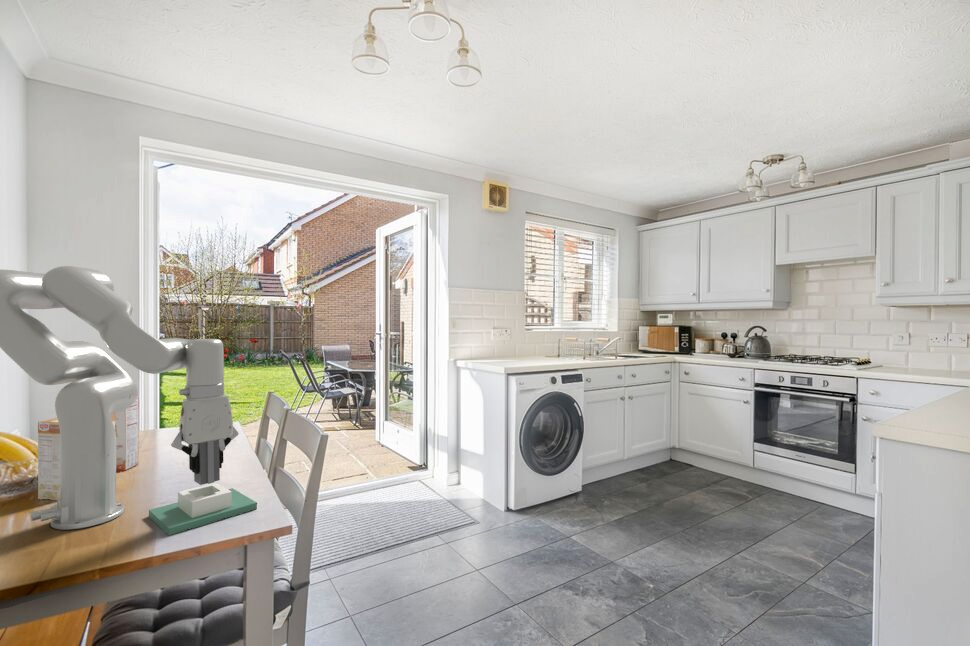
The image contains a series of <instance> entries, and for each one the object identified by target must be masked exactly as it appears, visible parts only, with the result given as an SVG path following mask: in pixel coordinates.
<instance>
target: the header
mask: <svg viewBox="0 0 970 646" xmlns="http://www.w3.org/2000/svg"><path fill="white" fill-rule="evenodd" d="M228 489H229V488H227V487H225V486H223V485H222V484H220V483H218V482H214V483H210V484H208V483H207V484H203V485H200V486H196V487H192V488H189V489H187V488H186V489H185V490H180V491H177V502H178V507H179V508H180V509H181V510H183V511H184V512H185V513H186V514H188V515H189V516H190V517H191V518H194V517H197V516H201V515H204V514H208V513H211V512H215V511H218V510H222V509H225V508H229V507H232V492H231V491H230V490H228Z"/></svg>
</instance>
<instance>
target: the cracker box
mask: <svg viewBox="0 0 970 646" xmlns="http://www.w3.org/2000/svg"><path fill="white" fill-rule="evenodd" d="M139 401H140V400H139V398H138V397H137V399H136V401H135V402H134V403H133V404H132V405H131V406H130V407H129V408H127V409H125V410H123V411H120V412H117V413H115V432H116V472H125V471H128V470H131V469H132V468H134V467H137V466H138V465H139V431H140V430H139V427H140V426H139V419H140V417H139V416H140V415H139V414H140V413H139V411H140V410H139V409H140V408H139V403H140V402H139Z"/></svg>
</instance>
